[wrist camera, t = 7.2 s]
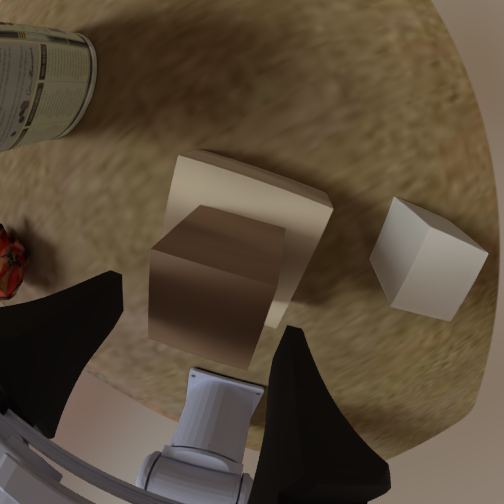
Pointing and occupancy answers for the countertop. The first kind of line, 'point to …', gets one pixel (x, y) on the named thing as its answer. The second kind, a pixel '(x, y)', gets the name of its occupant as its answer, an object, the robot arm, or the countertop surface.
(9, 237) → the dragon fruit
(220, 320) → the walnut block
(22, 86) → the coffee can
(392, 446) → the countertop surface
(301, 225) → the birch base block
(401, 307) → the off-white block
